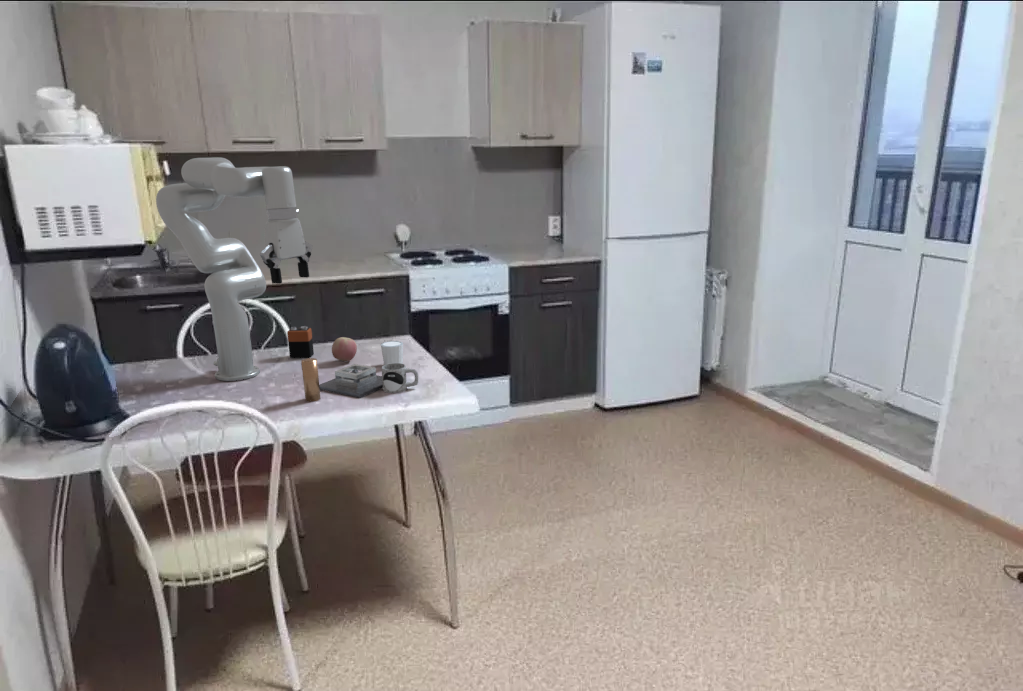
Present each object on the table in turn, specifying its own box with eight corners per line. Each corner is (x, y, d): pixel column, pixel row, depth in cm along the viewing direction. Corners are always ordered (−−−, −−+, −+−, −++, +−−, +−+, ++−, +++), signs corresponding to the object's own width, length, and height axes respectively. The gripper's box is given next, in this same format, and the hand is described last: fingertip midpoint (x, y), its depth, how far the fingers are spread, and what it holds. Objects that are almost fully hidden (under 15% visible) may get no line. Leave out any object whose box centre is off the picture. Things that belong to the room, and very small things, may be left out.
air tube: (301, 400, 191) (296, 361, 188) (311, 395, 194) (308, 357, 191) (312, 402, 189) (308, 363, 186) (323, 398, 192) (320, 359, 189)
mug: (381, 393, 195) (379, 370, 193) (384, 385, 201) (383, 363, 199) (417, 392, 195) (416, 369, 193) (420, 384, 201) (418, 362, 200)
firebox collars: (316, 389, 199) (315, 372, 198) (353, 374, 212) (352, 358, 210) (360, 398, 191) (358, 381, 190) (395, 382, 204) (394, 366, 202)
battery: (310, 358, 228) (307, 328, 226) (289, 358, 228) (286, 328, 226) (314, 354, 233) (311, 325, 230) (293, 354, 233) (290, 325, 230)
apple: (354, 365, 220) (352, 340, 218) (330, 365, 220) (328, 341, 218) (360, 358, 228) (358, 334, 226) (336, 358, 228) (334, 334, 226)
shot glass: (405, 361, 223) (404, 340, 221) (403, 368, 216) (401, 346, 214) (383, 362, 223) (382, 340, 221) (380, 369, 216) (379, 347, 214)
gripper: (296, 212, 194) (304, 274, 198) (245, 218, 179) (255, 285, 184) (316, 212, 190) (324, 275, 195) (266, 218, 176) (276, 286, 180)
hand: (291, 280), depth 189 cm, fingers open, 9 cm apart
